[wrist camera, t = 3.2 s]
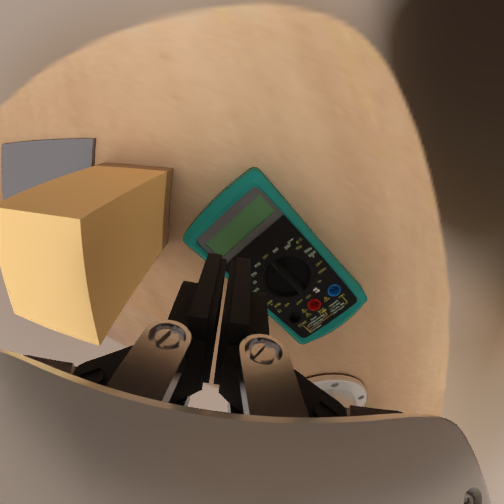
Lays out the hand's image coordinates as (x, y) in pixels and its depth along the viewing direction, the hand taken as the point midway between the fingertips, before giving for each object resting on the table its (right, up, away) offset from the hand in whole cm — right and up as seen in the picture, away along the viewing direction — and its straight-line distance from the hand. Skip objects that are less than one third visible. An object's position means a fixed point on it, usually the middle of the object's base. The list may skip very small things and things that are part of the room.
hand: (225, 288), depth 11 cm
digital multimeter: (+3, +1, +12) cm, 12 cm away
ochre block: (-8, +5, +9) cm, 13 cm away
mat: (-19, +7, +8) cm, 21 cm away
